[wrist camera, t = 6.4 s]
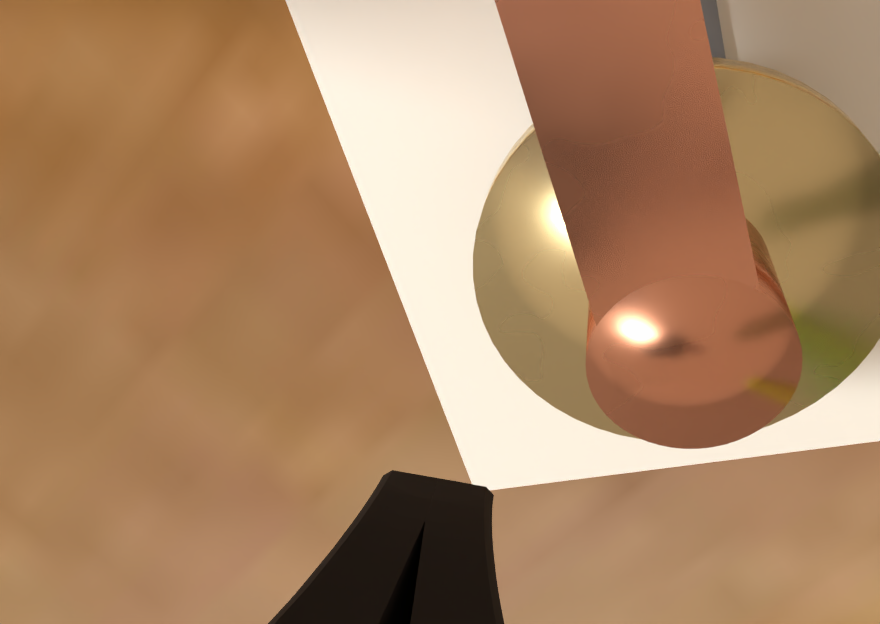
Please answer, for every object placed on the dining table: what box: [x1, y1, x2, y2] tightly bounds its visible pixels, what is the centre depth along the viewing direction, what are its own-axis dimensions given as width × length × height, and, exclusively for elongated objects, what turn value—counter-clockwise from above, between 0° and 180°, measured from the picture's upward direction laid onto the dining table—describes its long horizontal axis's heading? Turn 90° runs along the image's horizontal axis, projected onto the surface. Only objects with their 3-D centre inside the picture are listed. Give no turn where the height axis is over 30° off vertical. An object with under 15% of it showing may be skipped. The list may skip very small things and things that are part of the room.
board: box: [286, 0, 880, 490], centre depth 17 cm, size 14×15×3 cm
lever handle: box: [473, 0, 880, 449], centre depth 14 cm, size 8×11×4 cm
